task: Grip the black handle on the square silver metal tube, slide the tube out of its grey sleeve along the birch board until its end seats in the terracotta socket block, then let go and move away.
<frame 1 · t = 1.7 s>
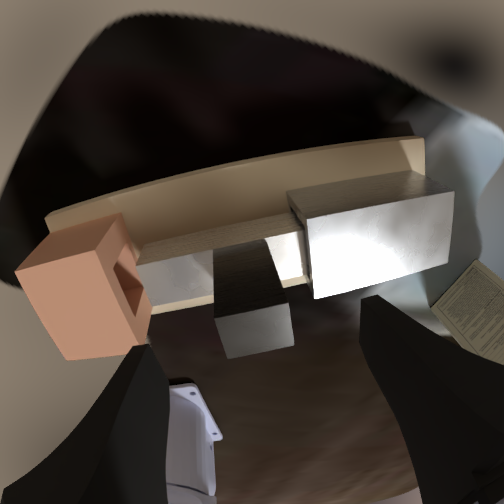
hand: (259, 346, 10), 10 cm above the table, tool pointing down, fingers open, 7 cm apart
birch board: (245, 228, 19), on the table
socket block: (105, 259, 19), resting on birch board
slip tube: (302, 267, 14), point 5 cm above the table, slide at 0.0 cm
grey sleeve: (350, 207, 19), resting on birch board
skincare box: (460, 291, 24), on the table
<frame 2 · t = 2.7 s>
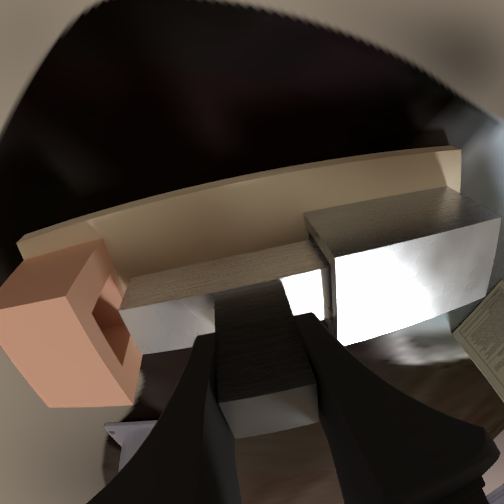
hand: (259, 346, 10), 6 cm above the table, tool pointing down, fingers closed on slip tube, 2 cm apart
birch board: (252, 255, 16), on the table
socket block: (88, 289, 16), resting on birch board
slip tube: (326, 315, 11), point 5 cm above the table, slide at 0.0 cm, touching gripper
grey sleeve: (375, 228, 16), resting on birch board
skincare box: (482, 313, 21), on the table
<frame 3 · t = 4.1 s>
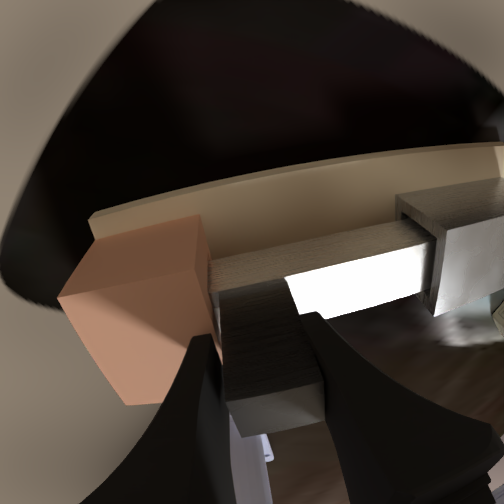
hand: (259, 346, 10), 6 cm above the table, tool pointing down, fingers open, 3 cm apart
birch board: (342, 235, 16), on the table
socket block: (167, 273, 16), resting on birch board
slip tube: (331, 313, 11), point 5 cm above the table, slide at 4.5 cm, touching gripper
grey sleeve: (443, 213, 16), resting on birch board
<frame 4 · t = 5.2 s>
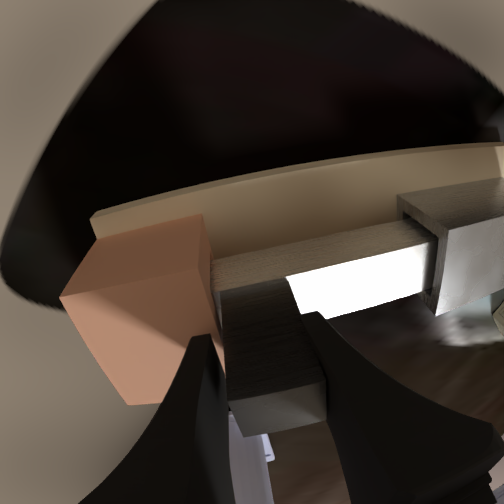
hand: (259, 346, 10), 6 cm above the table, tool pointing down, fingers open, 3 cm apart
birch board: (344, 235, 16), on the table
socket block: (168, 272, 16), resting on birch board
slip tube: (332, 313, 11), point 5 cm above the table, slide at 4.5 cm, touching gripper, socket block
grey sleeve: (444, 213, 16), resting on birch board
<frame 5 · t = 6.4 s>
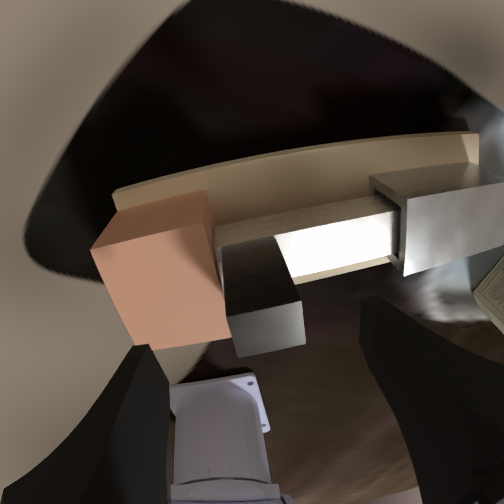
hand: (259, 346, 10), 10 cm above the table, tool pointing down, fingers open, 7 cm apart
birch board: (325, 210, 19), on the table
socket block: (176, 241, 19), resting on birch board
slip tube: (311, 264, 14), point 5 cm above the table, slide at 4.4 cm
grey sleeve: (416, 193, 19), resting on birch board
skincare box: (495, 277, 24), on the table
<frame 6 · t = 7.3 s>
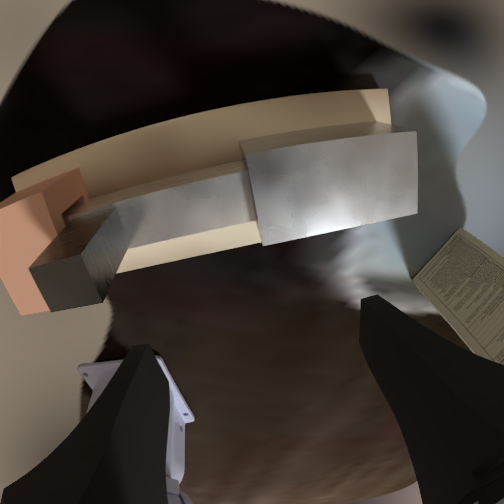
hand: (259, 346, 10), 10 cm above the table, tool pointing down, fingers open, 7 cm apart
birch board: (201, 183, 18), on the table
socket block: (67, 219, 18), resting on birch board
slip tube: (142, 229, 13), point 5 cm above the table, slide at 4.4 cm
grey sleeve: (311, 161, 18), resting on birch board
skincare box: (444, 263, 23), on the table
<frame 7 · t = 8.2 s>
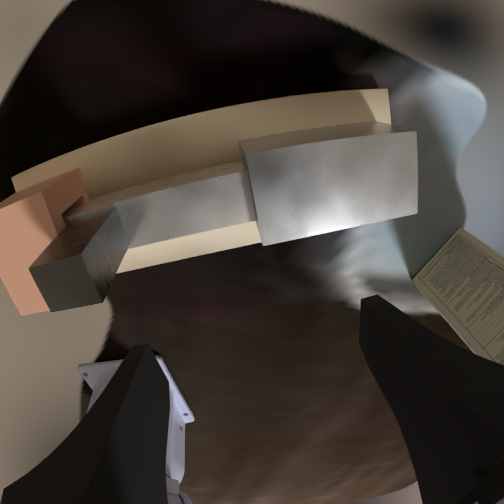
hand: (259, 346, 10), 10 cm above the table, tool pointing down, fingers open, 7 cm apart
birch board: (201, 183, 18), on the table
socket block: (67, 219, 18), resting on birch board
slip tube: (142, 229, 13), point 5 cm above the table, slide at 4.4 cm
grey sleeve: (311, 161, 18), resting on birch board
skincare box: (444, 263, 23), on the table
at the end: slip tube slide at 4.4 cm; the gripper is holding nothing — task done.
